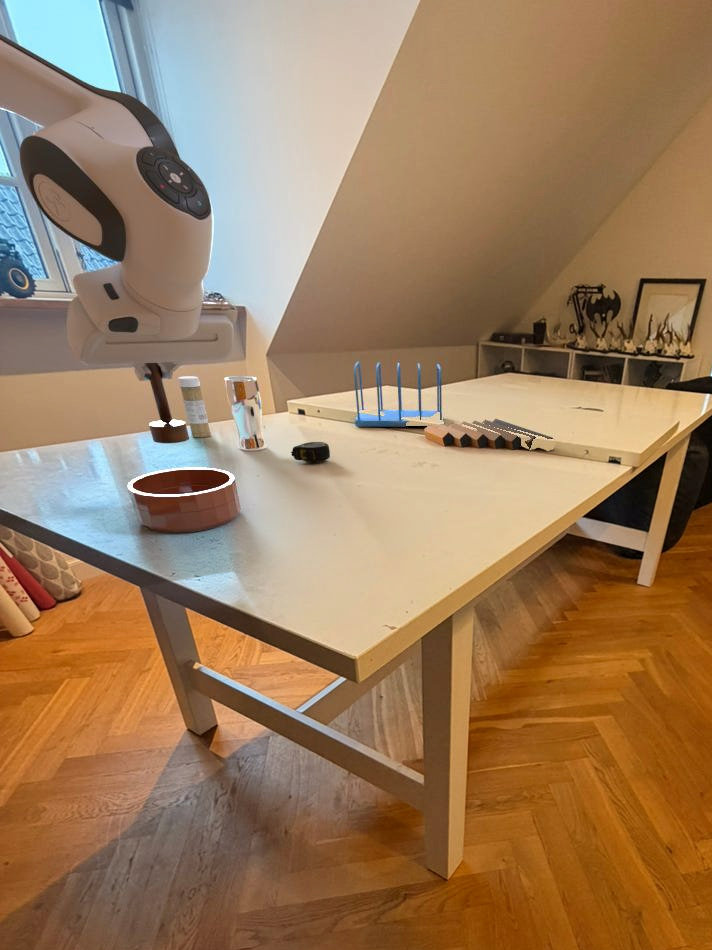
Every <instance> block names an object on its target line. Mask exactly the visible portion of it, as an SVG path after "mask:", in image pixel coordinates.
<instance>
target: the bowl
mask: <svg viewBox="0 0 712 950" xmlns="http://www.w3.org/2000/svg"><path fill="white" fill-rule="evenodd" d="M127 490H128V493H129V497H130V500H131V503H132V507H133V510H134V513H135V516H136V520H137V521H138V522H139V523H140V524H141V525H143V526H145V527H147V528H148V529H150V530H152V531H156V532H161V533H170V534H175V533H176V534H181V533H182V534H183V533H196V532H202V531H207V530H212V529H215V528H219V527H222V526H225V525H226V524H228V523H230V522H232V521H234V520H235V518H237V516H238V515H239V513H240V512H241V510H242V506H241V503H240V498H239V493H238V487H237V482H236V479H235V476H234V474H232V473H230V472H229V471H226V470H221V469H217V468H209V467H208V468H207V467H184V468H183V467H181V468H172V469H165V470H159V471H154V472H150V473H147V474H143V475H141V476H138V477H136V478H133V479H131V480H130V482H128V484H127Z"/></svg>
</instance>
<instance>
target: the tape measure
mask: <svg viewBox="0 0 712 950" xmlns="http://www.w3.org/2000/svg"><path fill="white" fill-rule="evenodd" d="M290 453H291V456H292V457H293V458H294V460H295V461H303V462H306V463H322V462H325V461H327V460H329V459H330V457H331V451H330V446H329V444H328V443H327V442H324V441H310V442H304V443H301V444H297V445H296V446H294V447H292V450H291V451H290Z"/></svg>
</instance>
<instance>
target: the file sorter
mask: <svg viewBox="0 0 712 950" xmlns="http://www.w3.org/2000/svg"><path fill="white" fill-rule="evenodd" d="M357 369H358V377H357ZM396 370H397V371H396V372H397V373H396V374H397V398H398V401H397V402H398V409H384V406H383V405H384V404H383V387H382V368H381V362H380V361H379V362H377V364H376V367H375V379H376V395H377V396H376V397H377V410H378V416H376V415H368V414H363V413H359V411H360V403H361V410H365V409H364V407H365V406H364V396H363V383H362V371H361V363H360V361H357V362H356V363H355V364H354V366H353V377H354V388H355V403H356V411H357V412H356V413H357V415H356V418H355V419H354V425H355V427H358V428H359V427H360V428H361V427H362V428H363V427H367V428H369V427H380V428H382V427H383V428H384V427H385V428H386V427H387V428H388V427H391V428H399V427H400V428H407V427H406V423H407V422H409V421H406V420H403V419H401V418H402V417H416V416H417V417H418V416H420V420H421V417H431V416H433V415H434V414H436V413H437V412H440V420H442V415H443V412H442V409H443V407H442V404H443V403H442V401H443V400H442V368H441V366H440V363H437V364H436V406H437V407H436V410H422V380H421V379H422V375H421V373H422V372H421V371H422V370H421V363H417V393H418V394H417V396H418V409H417V410H415V409H414V410H413V409H412V410H411V409H403V404H402V381H401V380H402V379H401V377H402V376H401V363H400V362H397V367H396ZM358 379H359V389H358ZM359 392H360V402H359ZM380 411H381V412H383V413H384V414H385V415H384V416H381V415H380Z"/></svg>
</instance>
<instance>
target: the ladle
mask: <svg viewBox="0 0 712 950" xmlns="http://www.w3.org/2000/svg"><path fill="white" fill-rule="evenodd" d="M146 364H147V366H148V369H150V371H151V373H152V375H151V380H149V383H150V386H151V390H152V394H153V397H154V401H155V405H156V408H157V413H158V416H159V419H160V420H157V421H152V422H150V423H148V426H149V430H150V434H151V437H152V440H153V442H154V443H157V444H177V443H184V442H187V441H189V440H190V435H189V432H188V428H187V423H186V421H183V420H179V419H173V417H172V413H171V409H170V404H169V401H168V398H167V394H166V390H165V385H164V381H163V379H162V378H161V374H160V370H159V366H158V363H146Z"/></svg>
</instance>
